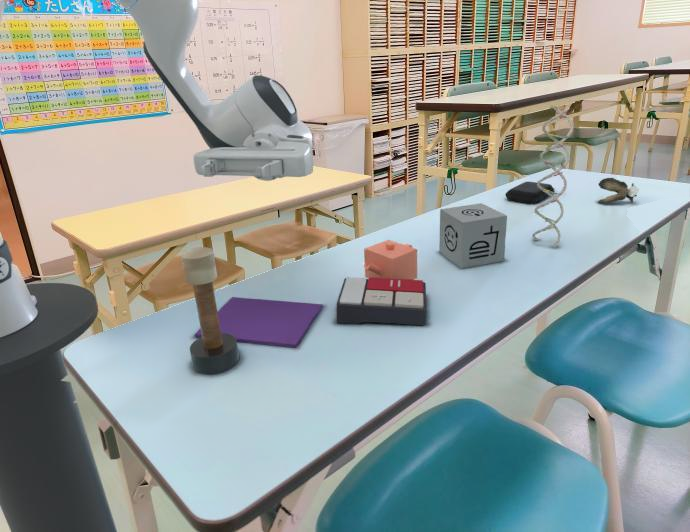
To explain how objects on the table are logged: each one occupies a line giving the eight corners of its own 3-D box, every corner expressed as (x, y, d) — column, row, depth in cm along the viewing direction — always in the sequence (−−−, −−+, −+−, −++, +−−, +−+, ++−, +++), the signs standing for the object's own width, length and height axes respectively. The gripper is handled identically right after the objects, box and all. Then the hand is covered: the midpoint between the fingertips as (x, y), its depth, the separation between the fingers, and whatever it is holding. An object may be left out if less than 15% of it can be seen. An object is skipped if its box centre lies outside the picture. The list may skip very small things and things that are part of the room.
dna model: (567, 246, 115) (584, 105, 104) (543, 250, 114) (558, 108, 102) (547, 236, 121) (561, 103, 110) (524, 241, 119) (536, 105, 108)
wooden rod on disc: (184, 371, 78) (161, 260, 71) (207, 347, 84) (188, 242, 77) (226, 377, 76) (207, 263, 69) (246, 351, 82) (231, 244, 75)
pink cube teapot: (353, 286, 102) (351, 247, 99) (396, 268, 109) (395, 231, 106) (380, 298, 96) (379, 257, 93) (424, 279, 103) (424, 240, 100)
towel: (195, 337, 87) (194, 334, 87) (232, 299, 99) (232, 296, 99) (296, 347, 82) (295, 344, 82) (322, 307, 95) (322, 304, 94)
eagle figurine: (626, 192, 146) (594, 187, 147) (639, 175, 140) (606, 170, 141) (629, 213, 142) (596, 208, 143) (643, 196, 136) (609, 191, 137)
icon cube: (503, 260, 110) (507, 215, 106) (461, 268, 107) (463, 222, 103) (479, 245, 118) (481, 203, 114) (439, 252, 116) (440, 209, 112)
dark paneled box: (426, 306, 85) (336, 300, 87) (425, 328, 87) (336, 323, 88) (425, 278, 95) (344, 273, 97) (424, 299, 97) (344, 294, 98)
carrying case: (538, 206, 143) (559, 194, 153) (539, 195, 142) (560, 183, 152) (502, 200, 150) (524, 189, 160) (503, 190, 148) (525, 179, 158)
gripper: (213, 137, 95) (171, 151, 83) (319, 137, 90) (291, 152, 78) (218, 171, 98) (178, 190, 86) (321, 173, 93) (294, 193, 80)
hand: (232, 172), depth 82 cm, fingers open, 8 cm apart
